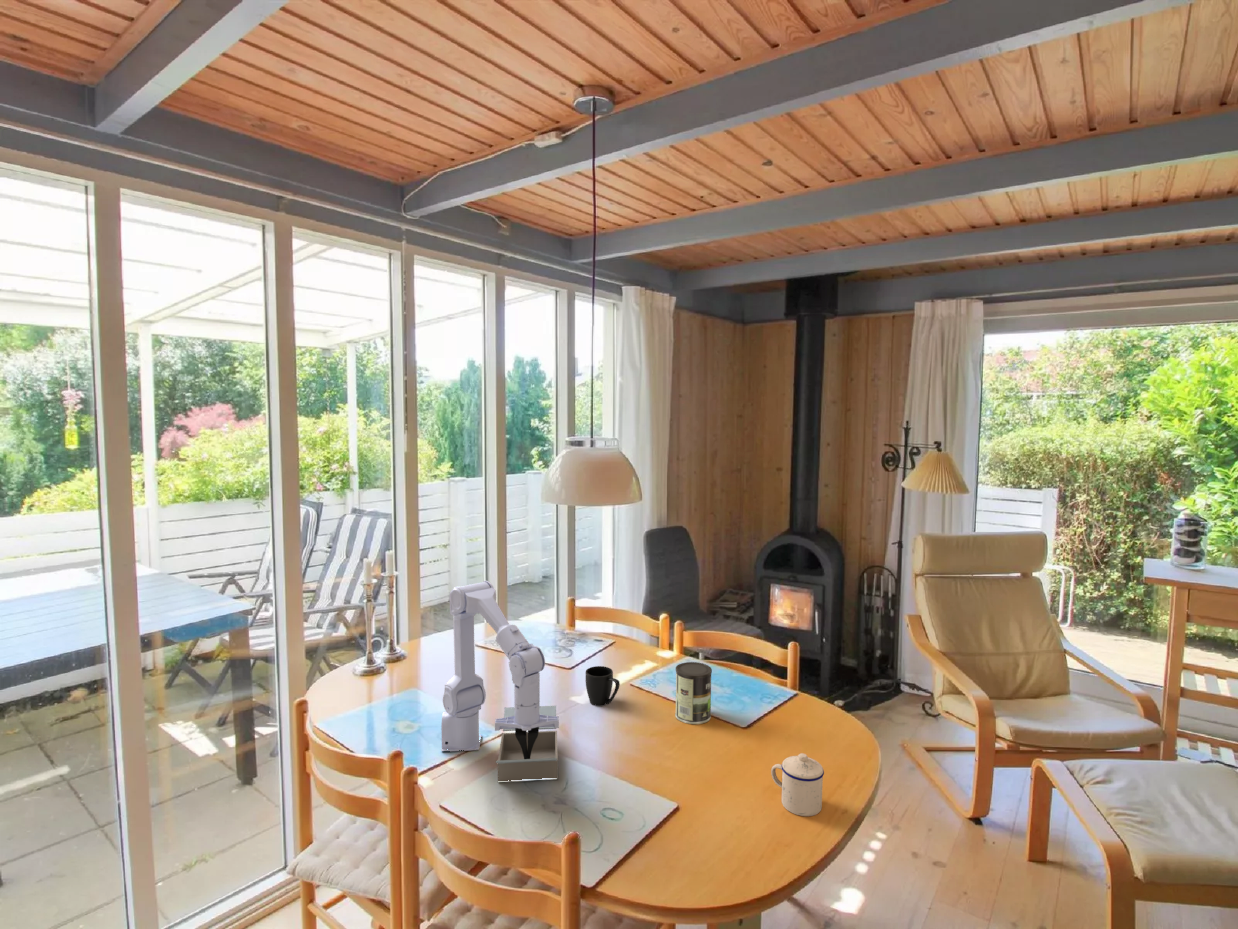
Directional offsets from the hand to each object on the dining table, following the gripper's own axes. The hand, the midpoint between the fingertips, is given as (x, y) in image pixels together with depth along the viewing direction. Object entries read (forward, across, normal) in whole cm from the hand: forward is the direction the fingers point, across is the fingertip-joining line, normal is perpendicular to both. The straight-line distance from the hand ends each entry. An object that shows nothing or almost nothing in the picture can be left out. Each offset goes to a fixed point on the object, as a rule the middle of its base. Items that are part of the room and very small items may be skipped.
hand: (527, 757), depth 151 cm
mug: (+8, +21, +42) cm, 47 cm away
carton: (+7, 0, +10) cm, 12 cm away
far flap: (0, 0, +20) cm, 20 cm away
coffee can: (+8, +46, +32) cm, 56 cm away
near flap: (0, 0, -1) cm, 1 cm away
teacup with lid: (+7, +60, -12) cm, 62 cm away
